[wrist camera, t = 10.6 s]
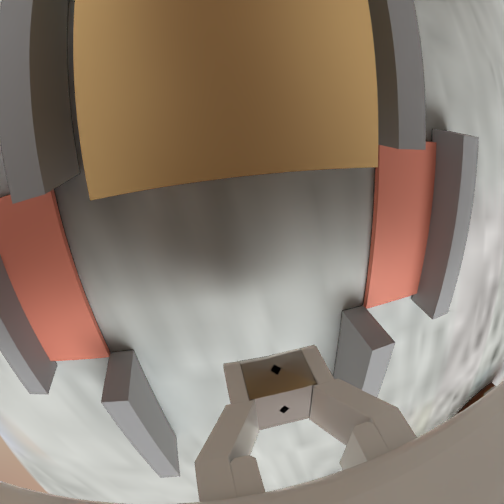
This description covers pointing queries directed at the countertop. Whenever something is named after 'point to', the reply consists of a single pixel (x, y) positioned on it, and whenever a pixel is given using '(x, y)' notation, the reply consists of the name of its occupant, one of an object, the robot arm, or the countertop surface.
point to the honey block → (221, 89)
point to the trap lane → (66, 167)
